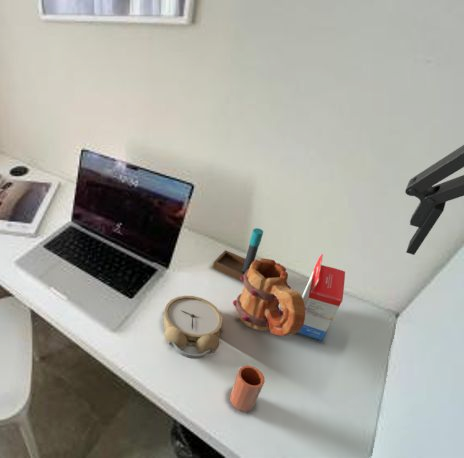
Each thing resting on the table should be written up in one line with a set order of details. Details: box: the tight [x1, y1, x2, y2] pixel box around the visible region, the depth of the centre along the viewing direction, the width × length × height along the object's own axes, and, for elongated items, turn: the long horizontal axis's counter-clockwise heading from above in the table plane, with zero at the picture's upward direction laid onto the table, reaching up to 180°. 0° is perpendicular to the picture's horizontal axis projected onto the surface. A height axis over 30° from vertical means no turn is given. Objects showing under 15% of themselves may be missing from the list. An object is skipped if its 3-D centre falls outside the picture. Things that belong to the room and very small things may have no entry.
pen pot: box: [229, 365, 266, 413], centre depth 60 cm, size 4×4×8 cm
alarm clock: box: [163, 295, 223, 360], centre depth 73 cm, size 11×5×15 cm
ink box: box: [297, 253, 346, 341], centre depth 69 cm, size 8×5×15 cm, turn 147°
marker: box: [242, 227, 264, 274], centre depth 80 cm, size 2×2×13 cm
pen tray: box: [212, 249, 246, 283], centre depth 84 cm, size 14×6×2 cm, turn 44°
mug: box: [232, 257, 305, 337], centre depth 68 cm, size 15×8×15 cm, turn 6°
